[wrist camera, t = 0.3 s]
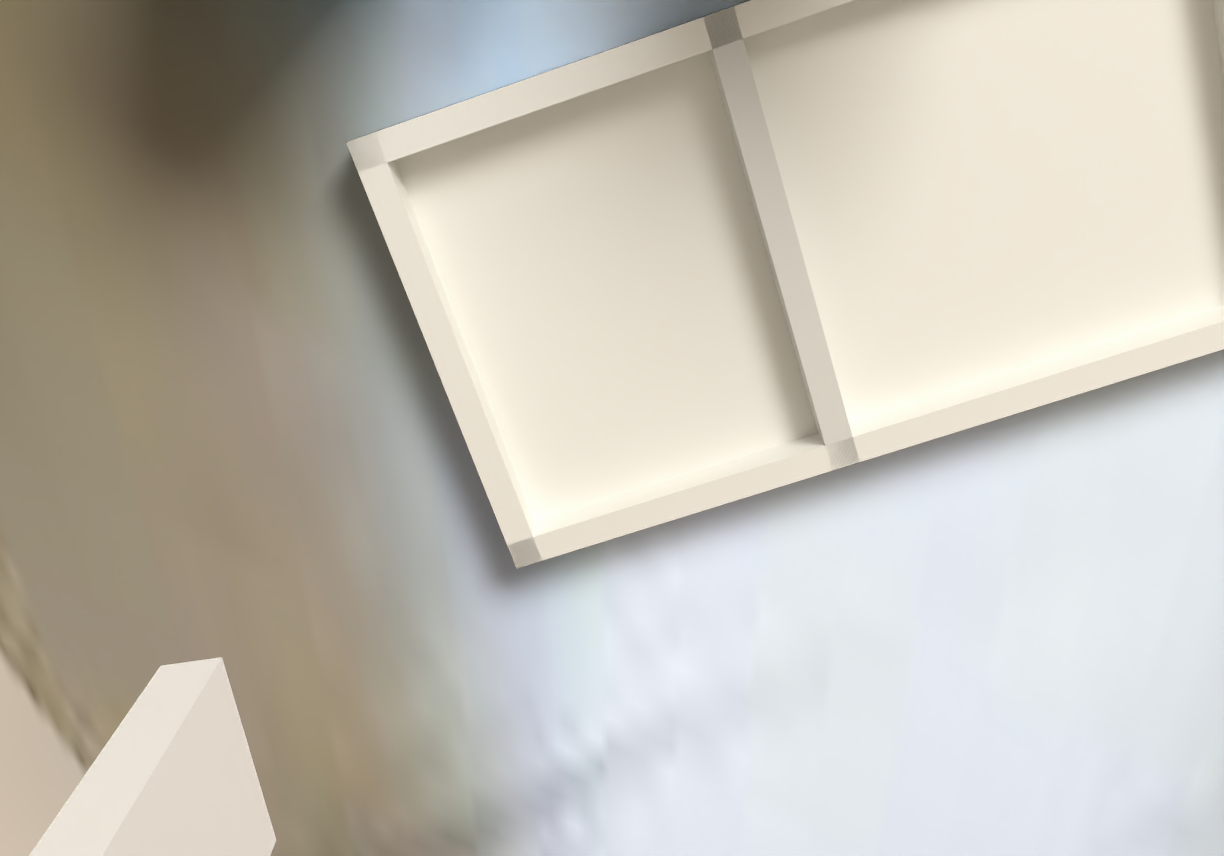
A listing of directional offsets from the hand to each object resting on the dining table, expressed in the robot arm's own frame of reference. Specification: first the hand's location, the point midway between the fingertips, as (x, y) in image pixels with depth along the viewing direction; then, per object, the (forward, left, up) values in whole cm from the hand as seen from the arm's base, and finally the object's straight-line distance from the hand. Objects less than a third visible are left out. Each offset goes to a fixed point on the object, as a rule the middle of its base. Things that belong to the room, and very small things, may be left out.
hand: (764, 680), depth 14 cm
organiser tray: (+1, +6, -27) cm, 28 cm away
